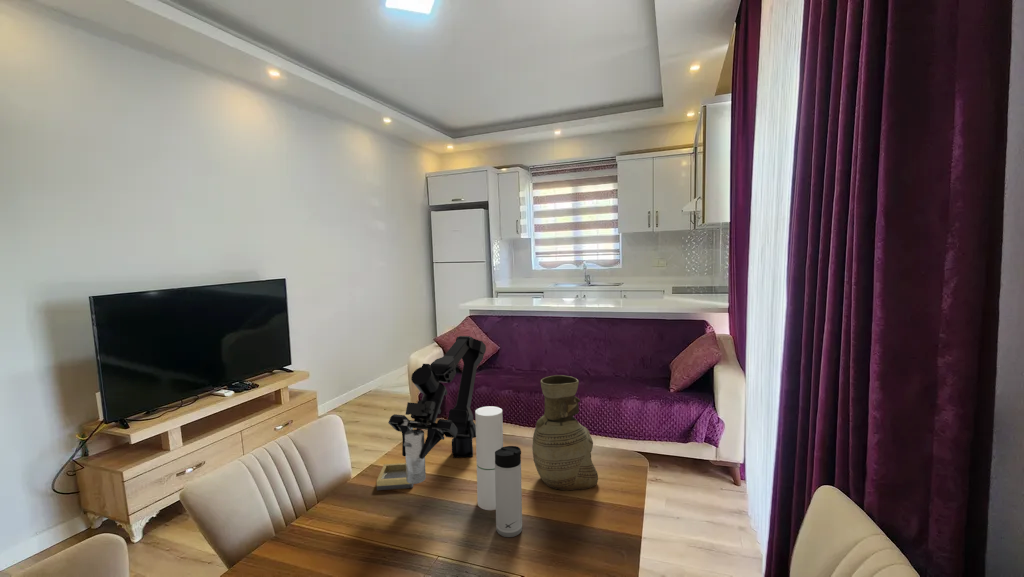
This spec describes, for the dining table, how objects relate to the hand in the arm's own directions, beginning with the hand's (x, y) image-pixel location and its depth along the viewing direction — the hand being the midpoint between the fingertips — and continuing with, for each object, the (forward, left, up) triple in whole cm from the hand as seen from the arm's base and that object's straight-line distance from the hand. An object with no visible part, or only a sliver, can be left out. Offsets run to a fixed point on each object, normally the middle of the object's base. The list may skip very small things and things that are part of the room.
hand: (412, 457), depth 110 cm
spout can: (0, 0, -7) cm, 7 cm away
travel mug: (-24, +13, -14) cm, 31 cm away
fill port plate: (+7, -14, -13) cm, 21 cm away
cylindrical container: (-20, +1, -14) cm, 24 cm away
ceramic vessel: (-42, -8, -14) cm, 45 cm away
